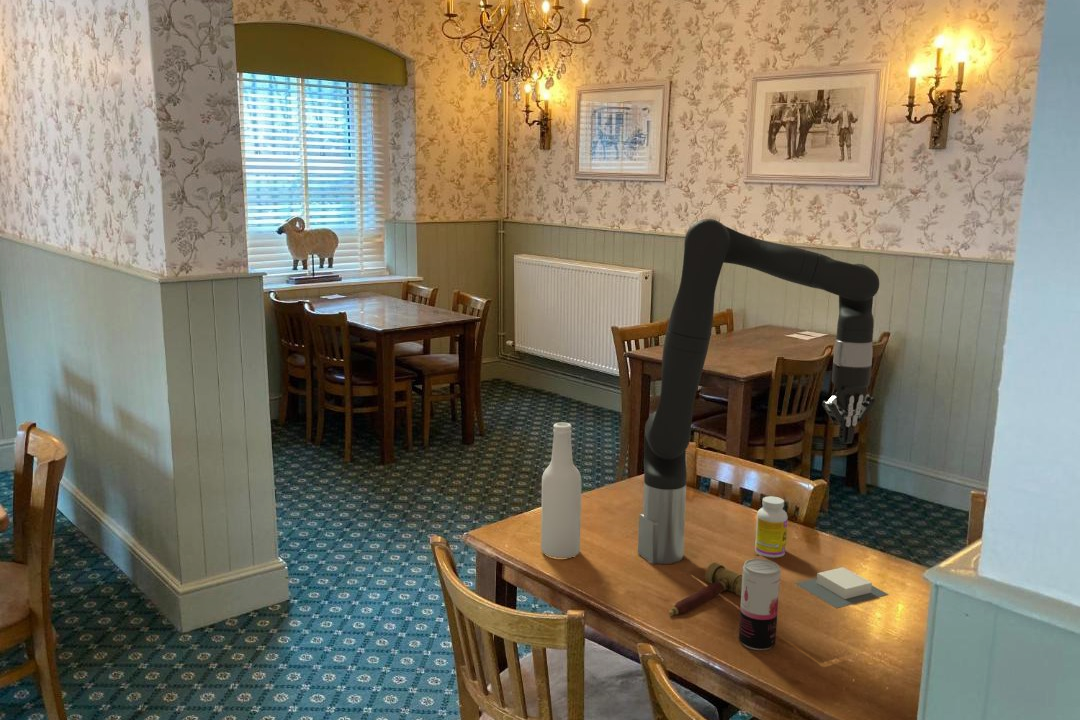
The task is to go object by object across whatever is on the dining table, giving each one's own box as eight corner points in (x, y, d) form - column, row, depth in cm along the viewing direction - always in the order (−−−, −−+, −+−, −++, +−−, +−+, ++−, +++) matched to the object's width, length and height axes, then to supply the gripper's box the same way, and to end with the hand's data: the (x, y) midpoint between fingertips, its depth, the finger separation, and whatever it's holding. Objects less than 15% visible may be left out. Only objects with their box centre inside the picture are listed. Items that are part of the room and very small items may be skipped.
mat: (836, 610, 174) (836, 608, 174) (794, 585, 185) (794, 583, 185) (888, 597, 180) (888, 594, 180) (845, 573, 191) (845, 571, 191)
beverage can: (781, 649, 160) (787, 572, 157) (747, 653, 159) (752, 575, 156) (765, 631, 166) (770, 556, 163) (732, 634, 165) (737, 559, 162)
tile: (845, 589, 177) (871, 582, 180) (817, 573, 184) (842, 567, 187) (844, 599, 178) (870, 593, 181) (816, 583, 185) (842, 577, 188)
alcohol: (587, 551, 201) (590, 424, 195) (563, 564, 194) (565, 432, 188) (557, 541, 206) (559, 416, 200) (533, 553, 200) (534, 424, 193)
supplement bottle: (785, 561, 197) (789, 506, 194) (755, 558, 198) (758, 504, 196) (783, 549, 203) (787, 495, 201) (754, 546, 205) (757, 493, 202)
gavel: (689, 613, 167) (650, 594, 174) (689, 634, 168) (650, 615, 176) (757, 575, 180) (718, 559, 187) (757, 595, 181) (718, 579, 189)
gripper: (862, 356, 189) (855, 434, 192) (814, 360, 183) (808, 441, 187) (890, 362, 182) (882, 443, 186) (841, 368, 177) (834, 451, 180)
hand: (845, 442), depth 186 cm, fingers closed
